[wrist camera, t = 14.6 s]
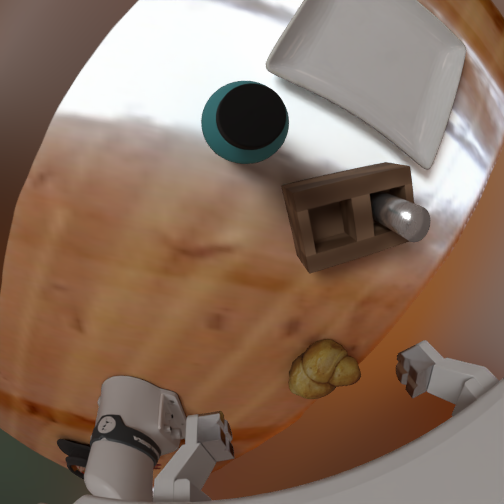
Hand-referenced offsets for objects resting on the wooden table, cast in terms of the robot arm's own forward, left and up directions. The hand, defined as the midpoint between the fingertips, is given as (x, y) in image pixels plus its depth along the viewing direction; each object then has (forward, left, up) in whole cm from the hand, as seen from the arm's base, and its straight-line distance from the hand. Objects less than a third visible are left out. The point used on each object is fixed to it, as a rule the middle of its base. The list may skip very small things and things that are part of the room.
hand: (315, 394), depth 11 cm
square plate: (+21, -25, -29) cm, 43 cm away
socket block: (-1, -13, -28) cm, 31 cm away
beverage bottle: (+12, -1, -28) cm, 31 cm away
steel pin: (-1, -17, -26) cm, 31 cm away
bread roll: (-27, -4, -28) cm, 39 cm away
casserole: (-52, +61, -28) cm, 85 cm away
